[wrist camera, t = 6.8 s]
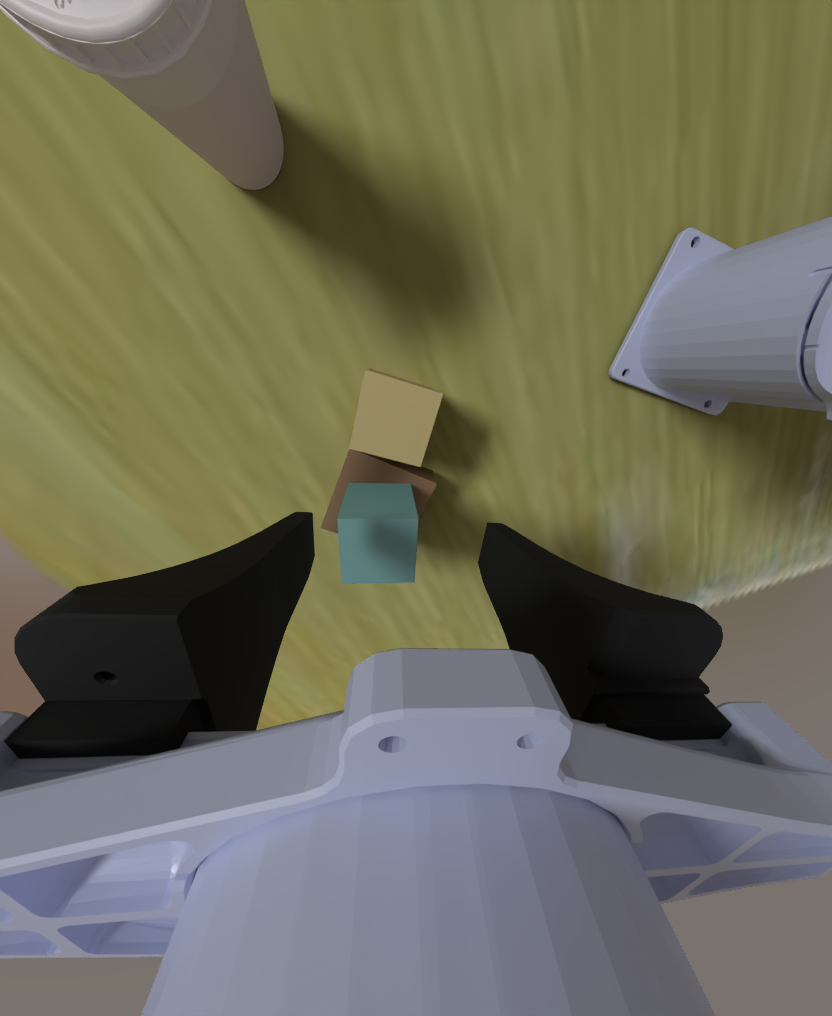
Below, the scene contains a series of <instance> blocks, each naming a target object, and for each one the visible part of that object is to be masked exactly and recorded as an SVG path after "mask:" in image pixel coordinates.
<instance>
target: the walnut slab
mask: <svg viewBox="0 0 832 1016" xmlns="http://www.w3.org/2000/svg"><path fill="white" fill-rule="evenodd" d="M348 483H399V484H411V488H412V492H413V497H414V501H415V506H416V510H417V515H418V521H419V519H420V517H421V515H422V513H423V511H424V509H425V507H426V505H427V503H428V501H429V499H430V497H431V495H432V493H433V491H434V489H435V487H436V485H437V481H436V479H435V476H434V474H433V472H432V471H431V470H429V469H426V468H424V467H422V466H421V467H418V466H414V465H410V464H406V463H403V462H399V461H395V460H391V459H387V458H383V457H379V456H376V455H372V454H368V453H364V452H360V451H356V450H353V449H349V452H348V455H347V458H346V460H345V463H344V466H343V468H342V471H341V474H340V477H339V479H338V482H337V485H336V488H335V490H334V493H333V496H332V499H331V501H330V504H329V507H328V510H327V512H326V515H325V518H324V521H323V523H322V526H321V528H323V529H326V530H329V531H332V532H335V533H338V522H337V518H338V515H339V512H340V508H341V505H342V502H343V499H344V495H345V492H346V489H347V486H348Z"/></svg>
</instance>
